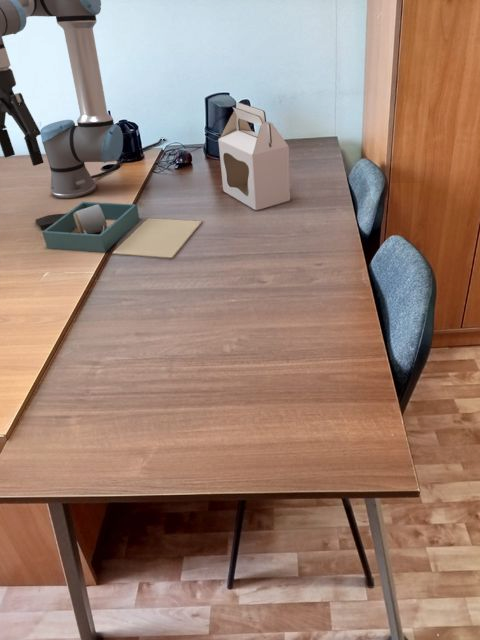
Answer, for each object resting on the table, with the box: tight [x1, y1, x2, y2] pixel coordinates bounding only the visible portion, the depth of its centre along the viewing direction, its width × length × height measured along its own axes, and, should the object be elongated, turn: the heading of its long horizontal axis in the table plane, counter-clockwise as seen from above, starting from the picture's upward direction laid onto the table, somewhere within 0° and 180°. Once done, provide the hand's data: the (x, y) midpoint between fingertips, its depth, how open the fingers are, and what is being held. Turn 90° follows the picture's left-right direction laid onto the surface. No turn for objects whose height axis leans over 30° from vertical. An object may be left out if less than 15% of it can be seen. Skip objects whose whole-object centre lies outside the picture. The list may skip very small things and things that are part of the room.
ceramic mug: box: [73, 204, 108, 234], centre depth 158 cm, size 11×8×8 cm
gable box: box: [217, 102, 291, 211], centre depth 169 cm, size 22×13×28 cm, turn 32°
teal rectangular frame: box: [41, 201, 140, 253], centre depth 159 cm, size 23×19×5 cm
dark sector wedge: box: [34, 212, 68, 231], centre depth 169 cm, size 8×14×2 cm, turn 120°
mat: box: [111, 217, 203, 260], centre depth 156 cm, size 24×18×1 cm
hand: (23, 160), depth 139 cm, fingers open, 13 cm apart
